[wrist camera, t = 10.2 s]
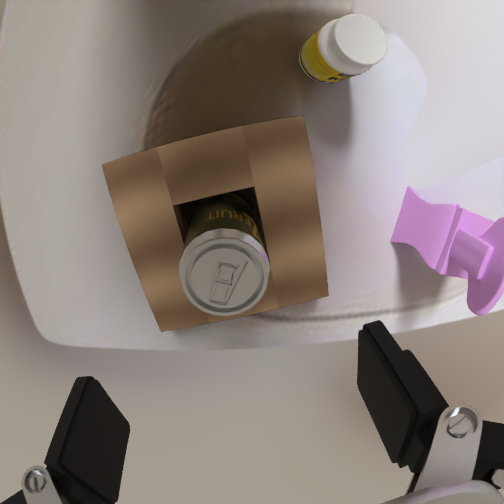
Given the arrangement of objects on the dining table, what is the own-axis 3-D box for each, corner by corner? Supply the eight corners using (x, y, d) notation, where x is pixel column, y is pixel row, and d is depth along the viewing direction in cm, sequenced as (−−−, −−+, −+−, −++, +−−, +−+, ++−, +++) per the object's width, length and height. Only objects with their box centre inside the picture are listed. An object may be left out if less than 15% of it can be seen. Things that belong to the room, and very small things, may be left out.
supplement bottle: (317, 93, 25) (355, 81, 17) (287, 51, 23) (314, 23, 15) (356, 70, 24) (403, 55, 16) (328, 29, 22) (366, 0, 14)
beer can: (242, 251, 30) (256, 326, 19) (187, 238, 29) (169, 308, 18) (259, 198, 28) (285, 247, 17) (201, 182, 27) (187, 223, 16)
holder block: (117, 159, 25) (101, 164, 22) (292, 116, 25) (303, 115, 22) (167, 309, 32) (161, 332, 28) (316, 276, 32) (328, 295, 28)
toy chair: (441, 261, 33) (522, 328, 19) (387, 250, 31) (473, 328, 18) (462, 198, 30) (558, 244, 16) (410, 176, 28) (518, 221, 15)
